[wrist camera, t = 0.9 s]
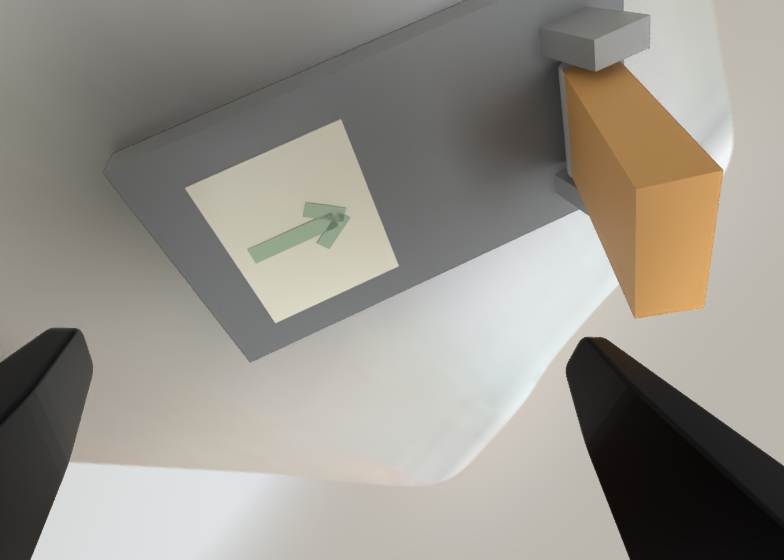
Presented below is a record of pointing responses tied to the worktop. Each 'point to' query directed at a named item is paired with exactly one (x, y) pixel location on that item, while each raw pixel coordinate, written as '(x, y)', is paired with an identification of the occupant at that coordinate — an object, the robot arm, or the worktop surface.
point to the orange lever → (641, 187)
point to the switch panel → (373, 165)
